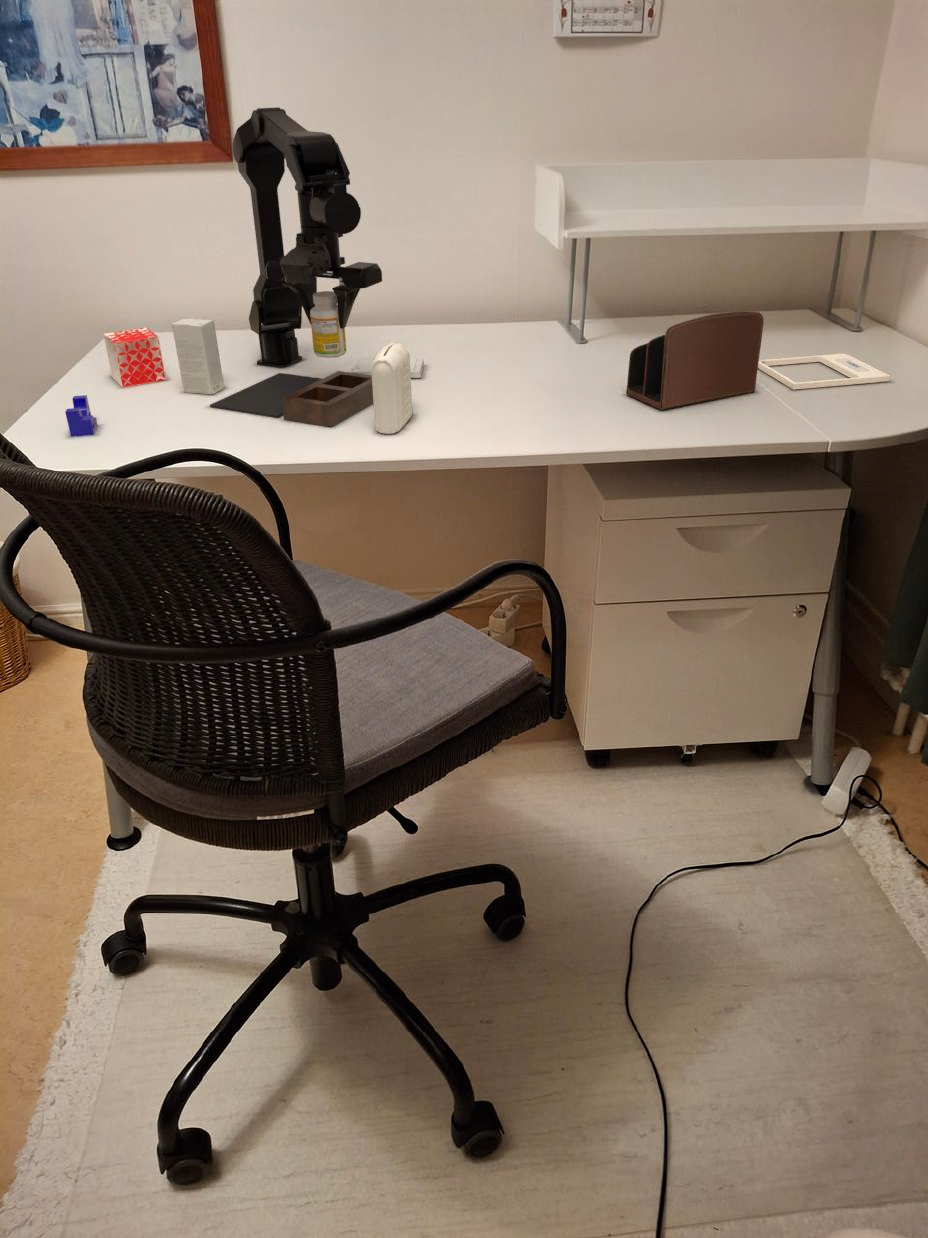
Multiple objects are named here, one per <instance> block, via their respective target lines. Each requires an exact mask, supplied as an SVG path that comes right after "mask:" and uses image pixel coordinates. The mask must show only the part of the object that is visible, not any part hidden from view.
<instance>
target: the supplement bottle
mask: <svg viewBox="0 0 928 1238" xmlns="http://www.w3.org/2000/svg"><path fill="white" fill-rule="evenodd" d="M313 302H314V304H315V307H313V308H312V309H311V311H310V318H311V324H310V327H311V335H312V337H311V338H312V346H313V347H312V348H313V355H315V356H316V357H318V358H323V359H324V358H325V359H331V358H332V359H334V358H339V357H343V356H344V355H346V354H347V342H346V327H345V328H343V329H341V328H340V325H339V318H338V304H337V296H336V294H335V293H334V291H333V290H331V291H330V290H328V291H327V290H324V291H322V290H321V291H317V293H314V294H313Z"/></svg>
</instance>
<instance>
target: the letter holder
mask: <svg viewBox="0 0 928 1238" xmlns="http://www.w3.org/2000/svg"><path fill="white" fill-rule="evenodd" d="M764 321H765V319H764V316H763V314H762V313H760V312H759V311H758V312H757V311H734V312H732V311H731V312H721V313H714V314H713V313H712V314H708V315H704V316H700V317H696V318H692V319H689V320H685V321H683V322H679V323H676V324H673V325H671V326H669V327H668V328H667V329H666V331H665V333H664V334H661V335H660V336H659V335H658V336H656V337H654V338H652V339H650V340H649V341H648V342H647V343H644V344H640V345H639V346H636V347H635V348H633V349H632V350H631V351H630V353H629V361H628V371H627V382H626V384H627V385H626V388H625V389H626V391H625V393H626V395H627V396H629V397H631V398H634V399H636V400H638V401H640V402H642V403H644V404H646V405H648V406H651V407H653V408H655V409H657V410H659V411H665V410H669V409H674V408H680V407H683V406H684V407H685V406H689V405H695V404H699V403H704V402H710V401H716V400H721V399H726V398H731V397H736V396H742V395H747V394H753V393H755V391H756V388H757V387H756V385H757V377H758V369H759V368H758V363H759V360H760V354H761V346H762V340H763V333H764Z"/></svg>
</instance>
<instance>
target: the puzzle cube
mask: <svg viewBox="0 0 928 1238" xmlns="http://www.w3.org/2000/svg"><path fill="white" fill-rule="evenodd" d="M102 334H103V335H102V336H103V340H104V345H105V349H106V353H107V355H106V356H107V359H108V363H109V369H110V374H111V377H112V378H113V379H114V381H115V382H117V384H119V385H120V386H121V387H122V388H128V387H134V386H139V385H145V384H152V383H159V382H163V381H166V380H167V377H166V371H165V366H164V360H163V355H162V349H161V343H160V338H159V337H160V336H158V335H157V334H156V333H155V332H153V331H152V330H150V329H149V328H148V327H141V328H134V329H127V330H121V331H113V332H107V333H102Z"/></svg>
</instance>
